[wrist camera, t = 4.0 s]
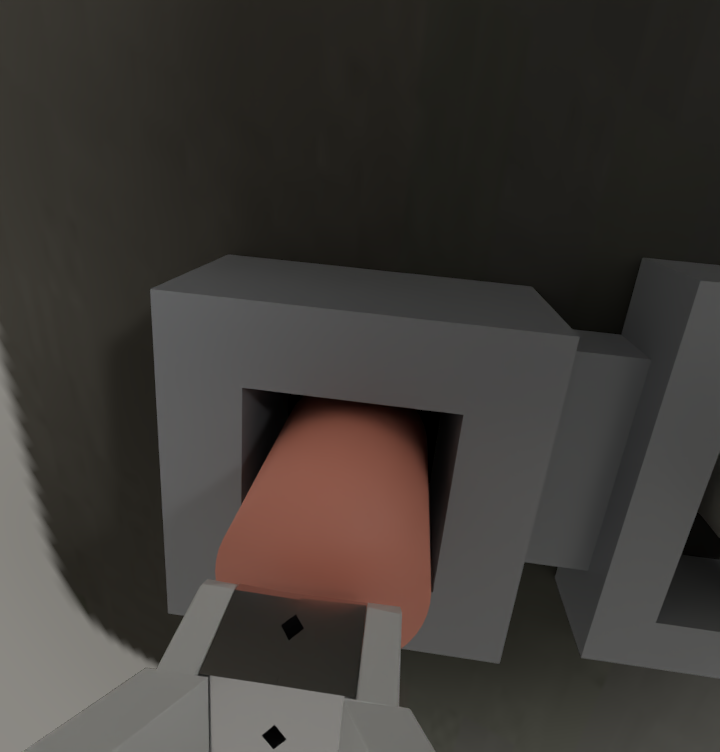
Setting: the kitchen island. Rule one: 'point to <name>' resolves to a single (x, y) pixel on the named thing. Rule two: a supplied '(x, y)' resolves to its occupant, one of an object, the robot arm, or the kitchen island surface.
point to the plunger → (339, 510)
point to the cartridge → (712, 500)
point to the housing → (468, 437)
